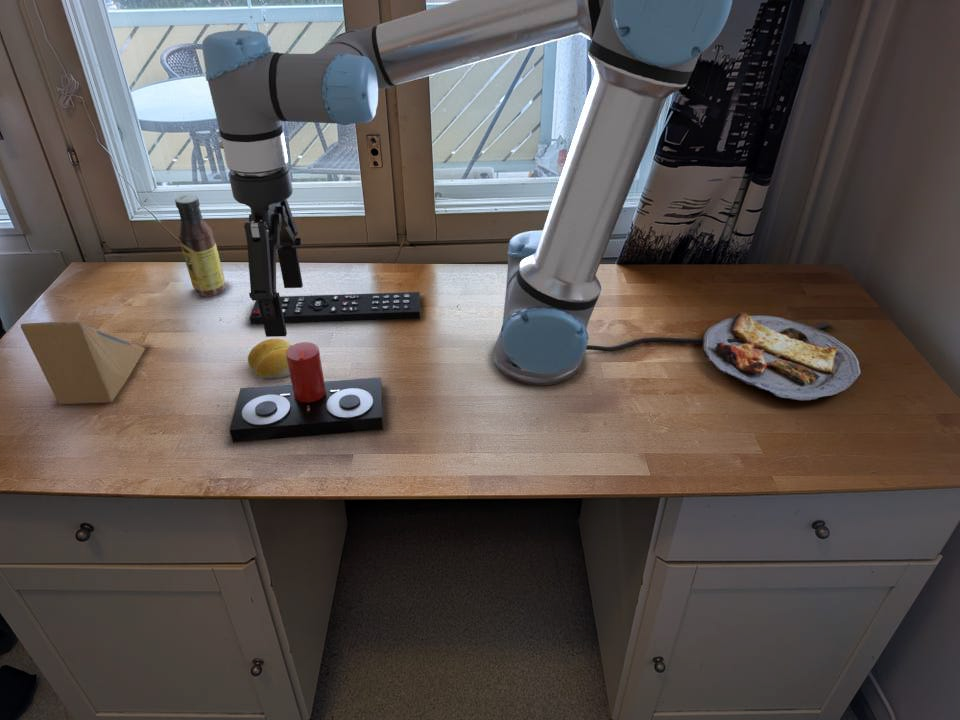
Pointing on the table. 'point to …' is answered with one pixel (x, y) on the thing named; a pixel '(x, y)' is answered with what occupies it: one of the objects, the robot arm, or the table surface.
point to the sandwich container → (81, 360)
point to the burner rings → (278, 407)
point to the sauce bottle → (199, 248)
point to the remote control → (345, 308)
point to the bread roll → (270, 359)
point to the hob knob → (306, 372)
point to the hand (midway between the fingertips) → (285, 309)
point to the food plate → (781, 356)
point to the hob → (308, 413)
